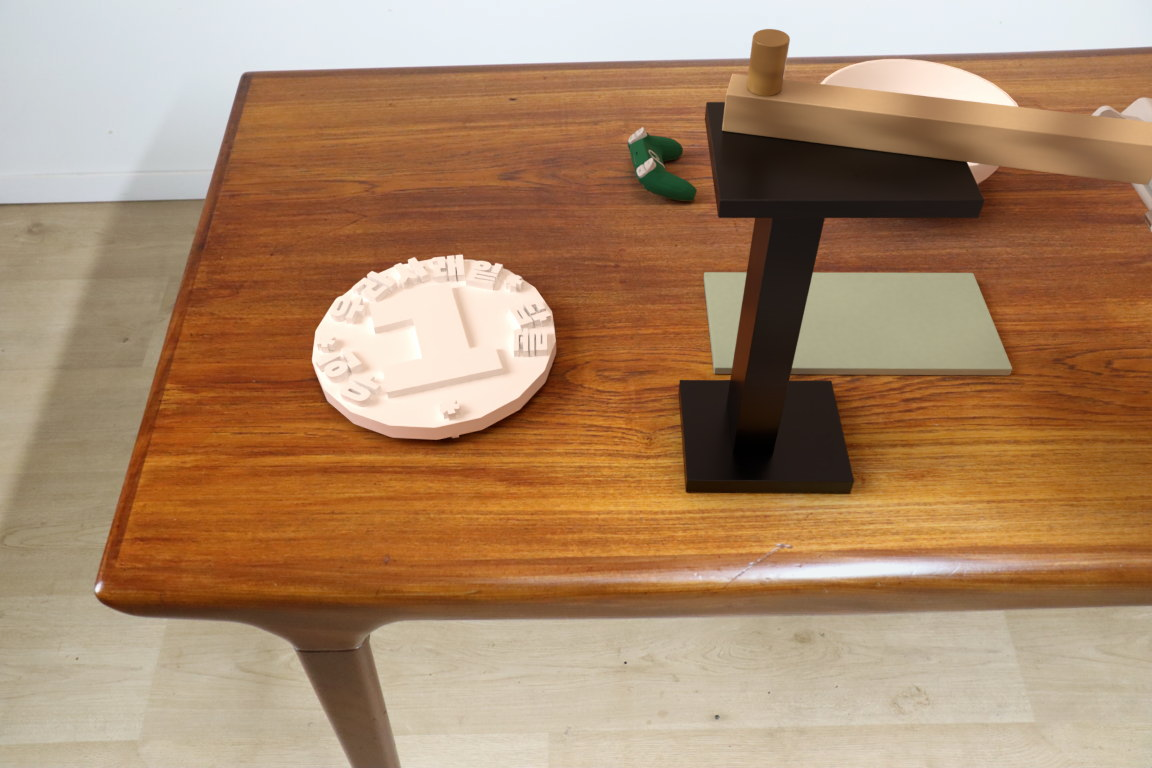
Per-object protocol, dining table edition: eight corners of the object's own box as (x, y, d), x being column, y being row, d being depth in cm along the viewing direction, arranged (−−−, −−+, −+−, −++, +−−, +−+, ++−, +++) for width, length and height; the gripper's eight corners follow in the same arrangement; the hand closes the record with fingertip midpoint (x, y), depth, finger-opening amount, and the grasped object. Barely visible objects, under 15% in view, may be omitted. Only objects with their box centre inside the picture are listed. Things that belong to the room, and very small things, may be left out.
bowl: (832, 113, 105) (847, 42, 98) (1015, 158, 98) (1042, 85, 92) (771, 208, 93) (784, 134, 87) (974, 266, 86) (1003, 190, 80)
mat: (970, 279, 85) (973, 272, 85) (1009, 375, 77) (1013, 369, 76) (703, 278, 86) (704, 271, 85) (713, 374, 78) (714, 367, 77)
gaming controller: (657, 168, 101) (618, 137, 97) (684, 144, 99) (645, 111, 96) (673, 221, 95) (632, 189, 91) (702, 196, 93) (660, 163, 89)
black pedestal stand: (853, 393, 76) (939, 101, 57) (877, 494, 69) (985, 200, 50) (678, 392, 76) (706, 101, 57) (685, 492, 69) (720, 200, 50)
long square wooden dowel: (1142, 161, 52) (1186, 70, 48) (1148, 185, 51) (1194, 94, 47) (727, 110, 57) (737, 23, 53) (721, 131, 55) (731, 43, 51)
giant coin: (288, 439, 73) (279, 414, 71) (348, 274, 87) (342, 249, 85) (545, 451, 72) (544, 426, 70) (565, 282, 86) (565, 256, 84)
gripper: (1245, 130, 64) (1106, 32, 59) (1426, 341, 50) (1262, 235, 45) (1162, 197, 68) (1026, 111, 63) (1308, 410, 54) (1146, 319, 49)
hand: (1125, 164), depth 54 cm, fingers open, 8 cm apart
